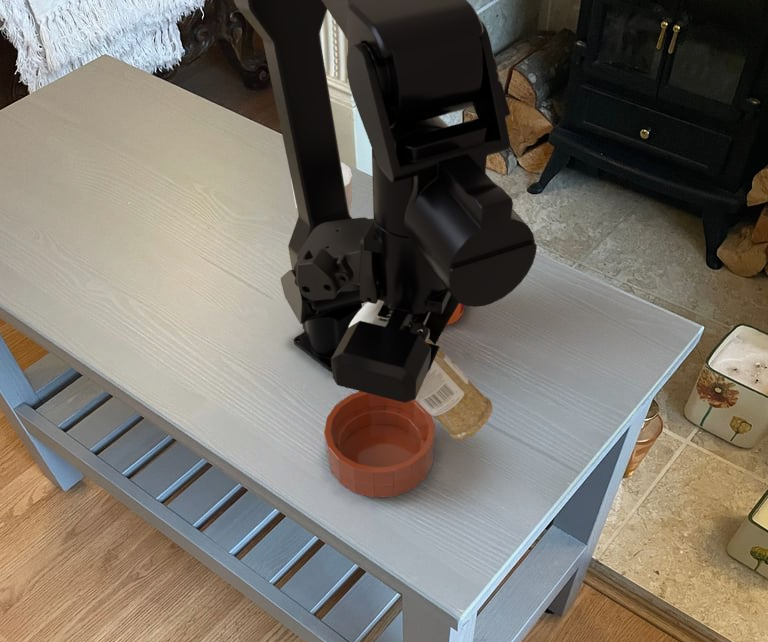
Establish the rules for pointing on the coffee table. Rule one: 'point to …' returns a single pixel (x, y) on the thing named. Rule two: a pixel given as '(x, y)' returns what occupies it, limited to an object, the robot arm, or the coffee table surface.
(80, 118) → the coffee table surface
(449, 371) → the sprinkles bottle
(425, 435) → the bowl
